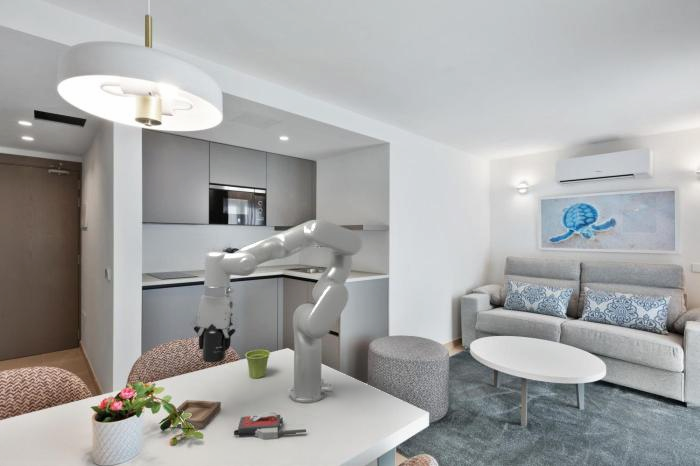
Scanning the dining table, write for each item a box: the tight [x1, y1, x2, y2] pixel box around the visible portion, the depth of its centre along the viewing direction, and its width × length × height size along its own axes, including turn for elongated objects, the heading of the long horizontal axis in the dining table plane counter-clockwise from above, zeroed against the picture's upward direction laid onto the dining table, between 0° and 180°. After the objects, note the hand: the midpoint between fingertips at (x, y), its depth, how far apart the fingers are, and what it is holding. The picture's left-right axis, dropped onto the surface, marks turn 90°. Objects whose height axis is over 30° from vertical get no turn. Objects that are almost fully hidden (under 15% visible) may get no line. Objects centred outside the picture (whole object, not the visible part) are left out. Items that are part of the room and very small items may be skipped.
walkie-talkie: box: [233, 412, 307, 440], centre depth 101 cm, size 9×4×20 cm
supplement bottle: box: [201, 324, 227, 363], centre depth 110 cm, size 7×7×12 cm
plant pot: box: [244, 349, 271, 379], centre depth 139 cm, size 9×9×9 cm
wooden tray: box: [164, 399, 222, 431], centre depth 107 cm, size 11×11×2 cm
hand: (214, 348), depth 110 cm, fingers closed on supplement bottle, 6 cm apart
